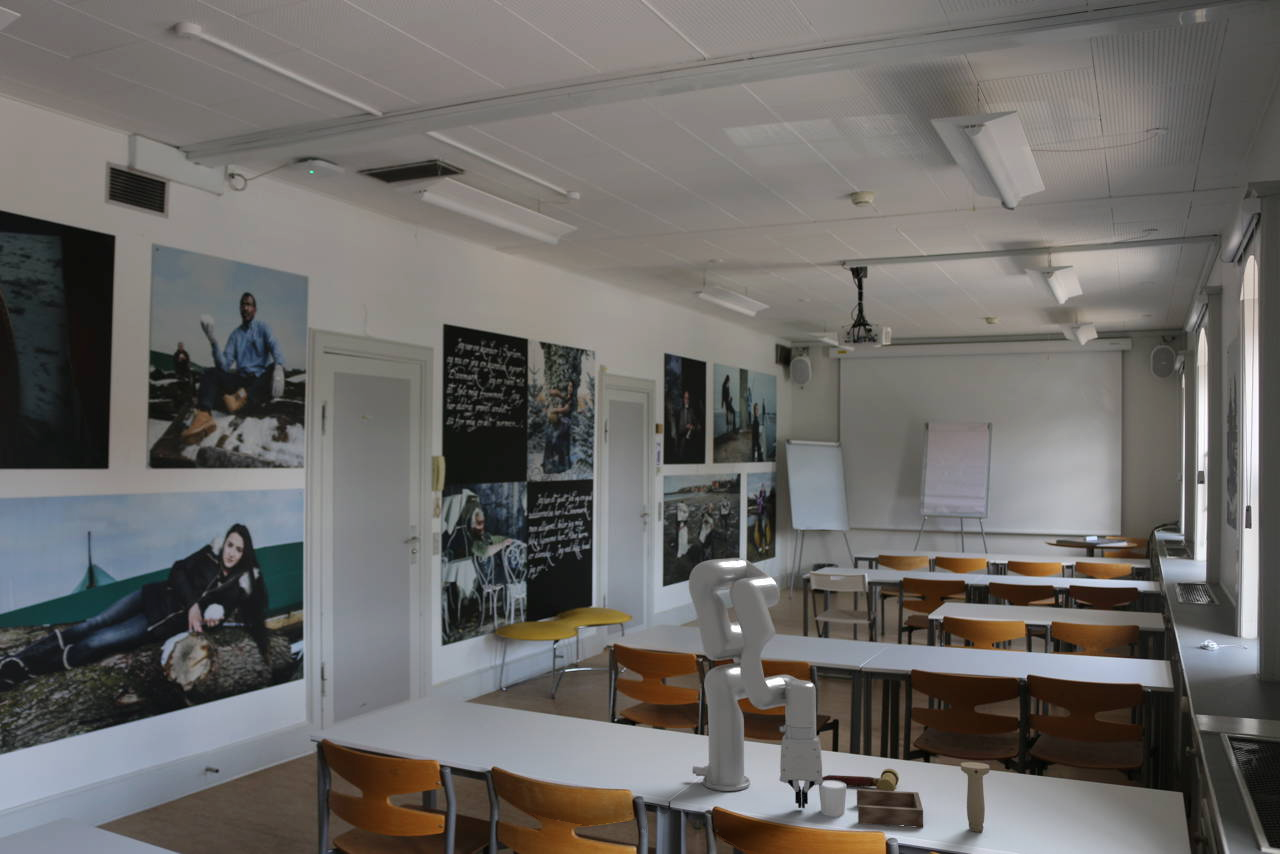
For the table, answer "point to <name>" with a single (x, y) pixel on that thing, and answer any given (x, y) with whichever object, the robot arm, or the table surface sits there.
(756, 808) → the table surface
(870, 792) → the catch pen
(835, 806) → the white short tapered cylinder
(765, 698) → the robot arm
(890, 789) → the gavel
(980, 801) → the handle
